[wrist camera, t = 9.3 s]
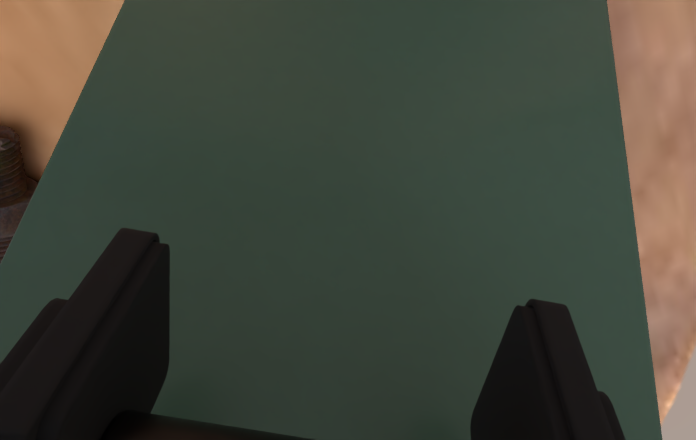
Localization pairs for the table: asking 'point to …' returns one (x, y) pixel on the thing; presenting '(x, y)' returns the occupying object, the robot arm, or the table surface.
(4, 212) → the bolt
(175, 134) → the chest lid
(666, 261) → the table surface
